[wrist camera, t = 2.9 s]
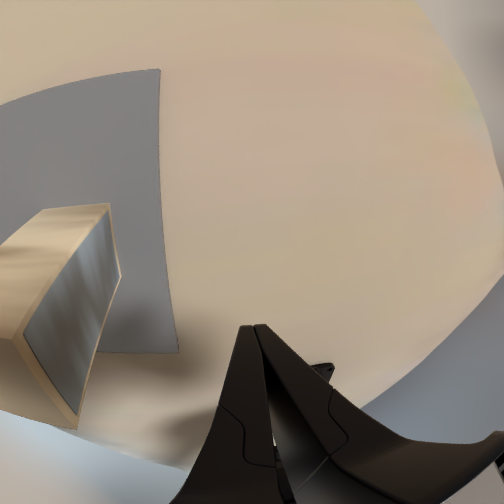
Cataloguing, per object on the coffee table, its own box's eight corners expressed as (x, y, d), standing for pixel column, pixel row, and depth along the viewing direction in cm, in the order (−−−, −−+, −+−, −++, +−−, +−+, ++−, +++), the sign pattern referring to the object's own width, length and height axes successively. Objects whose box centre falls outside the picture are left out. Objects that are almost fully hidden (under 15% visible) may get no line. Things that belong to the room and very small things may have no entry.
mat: (178, 347, 19) (178, 353, 19) (-14, 333, 16) (-16, 337, 15) (160, 70, 11) (158, 68, 10) (-69, 143, 8) (-73, 144, 7)
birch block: (122, 275, 15) (78, 430, 7) (59, 276, 14) (-8, 406, 6) (110, 202, 13) (12, 339, 4) (42, 209, 12) (-67, 322, 4)
